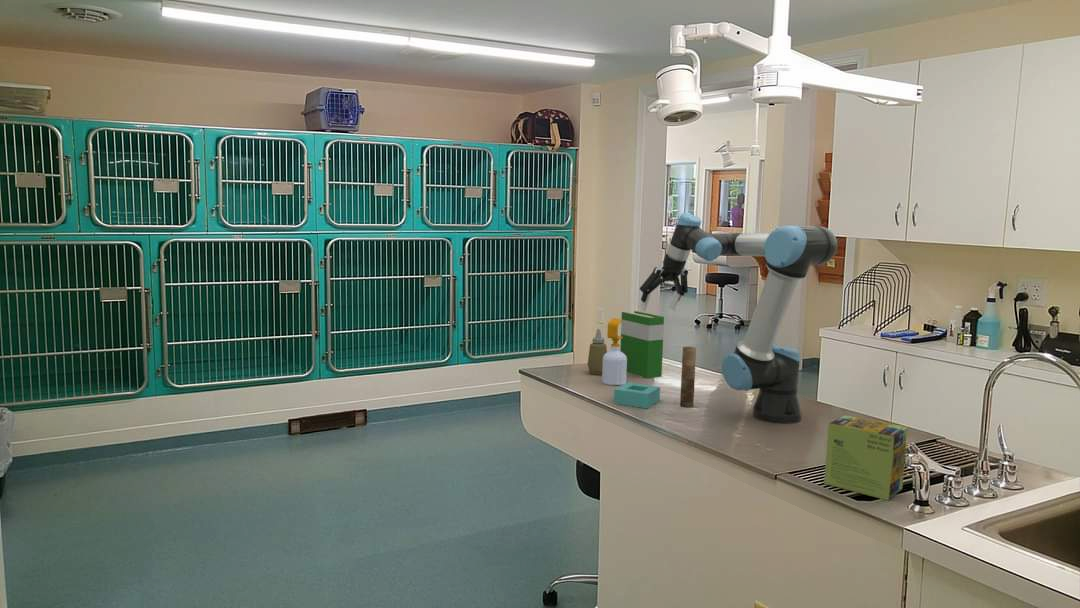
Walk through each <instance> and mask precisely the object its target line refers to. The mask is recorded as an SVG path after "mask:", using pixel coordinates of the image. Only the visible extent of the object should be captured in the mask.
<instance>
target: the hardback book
mask: <svg viewBox="0 0 1080 608" xmlns="http://www.w3.org/2000/svg"><path fill="white" fill-rule="evenodd" d="M620 319H622V322H620V324H621V325H620V326H621V327H620V336H621V337H622V338H621V339H620V351H621V352H622V353H624V354H625V355H626V357H627V372H626V373H628V372H629V373H628V374H631V373H632V375H634V374H635V376H637V375H639V376H638V377H640V376H642V377H641V378H644V379H647V378H648V379H654V377H655V378H661V377H662V375H663V355H664V353H663V351H664V329H665V328H664V325H665V316H662V315H657V314H651V313H647V312H644V311H642V312H641V311H636V310H634V311H633V312H625V311H621V318H620Z"/></svg>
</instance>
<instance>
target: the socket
mask: <svg viewBox="0 0 1080 608" xmlns="http://www.w3.org/2000/svg"><path fill="white" fill-rule="evenodd" d="M613 395H614V396H613V404H614V403H615V405H619V404H620V405H621V406H626V405H628V406H627V407H632V406H634V407H635V408H639V407H642V408H641V409H645V408H648V409H649V408H651V407H653V406H655V403H656V404H658V403H659V402H660V401H661V397H660V396H661V386H656V385H655V386H654V385H650V384H649V385H648V384H641V383H634V382H626V383H625V384H624V385H619V386H618V387H616V388H614V390H613ZM652 405H653V406H652ZM650 406H651V407H650Z"/></svg>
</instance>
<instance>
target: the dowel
mask: <svg viewBox="0 0 1080 608" xmlns="http://www.w3.org/2000/svg"><path fill="white" fill-rule="evenodd" d="M696 356H697V347H696V346H695V347H694V346H682V356H681V357H682V358H681V360H682V361H681V376H680V377H681V378H680V401H679V405H680V407H681V408H687V409H689V408H694V400H695V399H694V398H695V382H696V381H695V378H696V360H697V359H696Z"/></svg>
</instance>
